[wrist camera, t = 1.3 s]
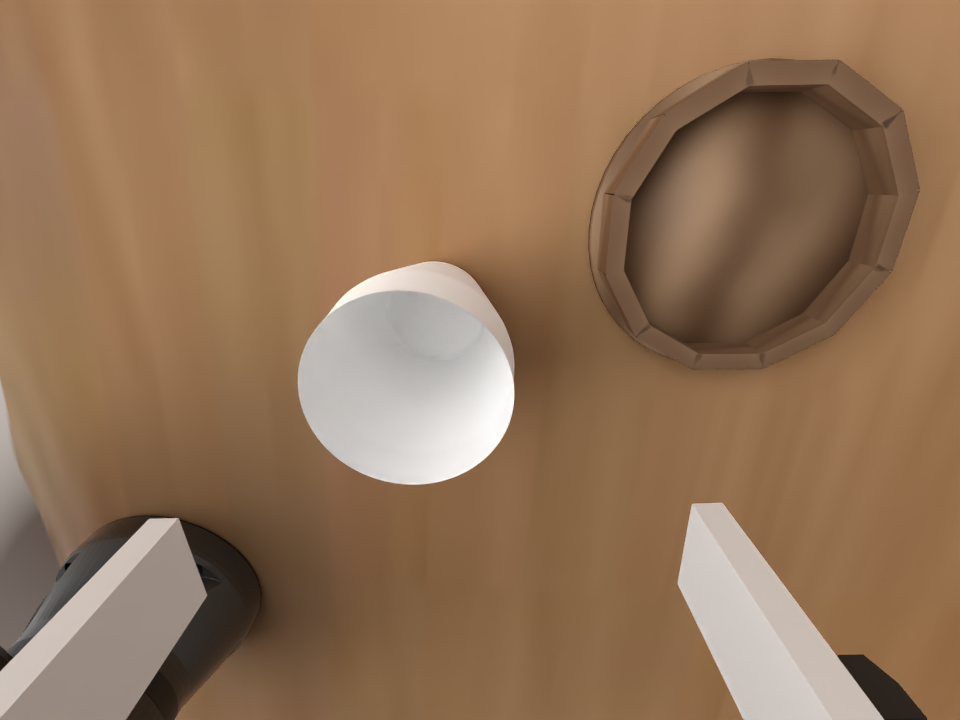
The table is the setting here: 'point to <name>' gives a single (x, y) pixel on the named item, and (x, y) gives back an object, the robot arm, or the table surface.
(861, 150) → the round tray
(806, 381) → the table surface
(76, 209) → the table surface
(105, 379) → the table surface
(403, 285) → the cup
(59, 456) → the table surface
